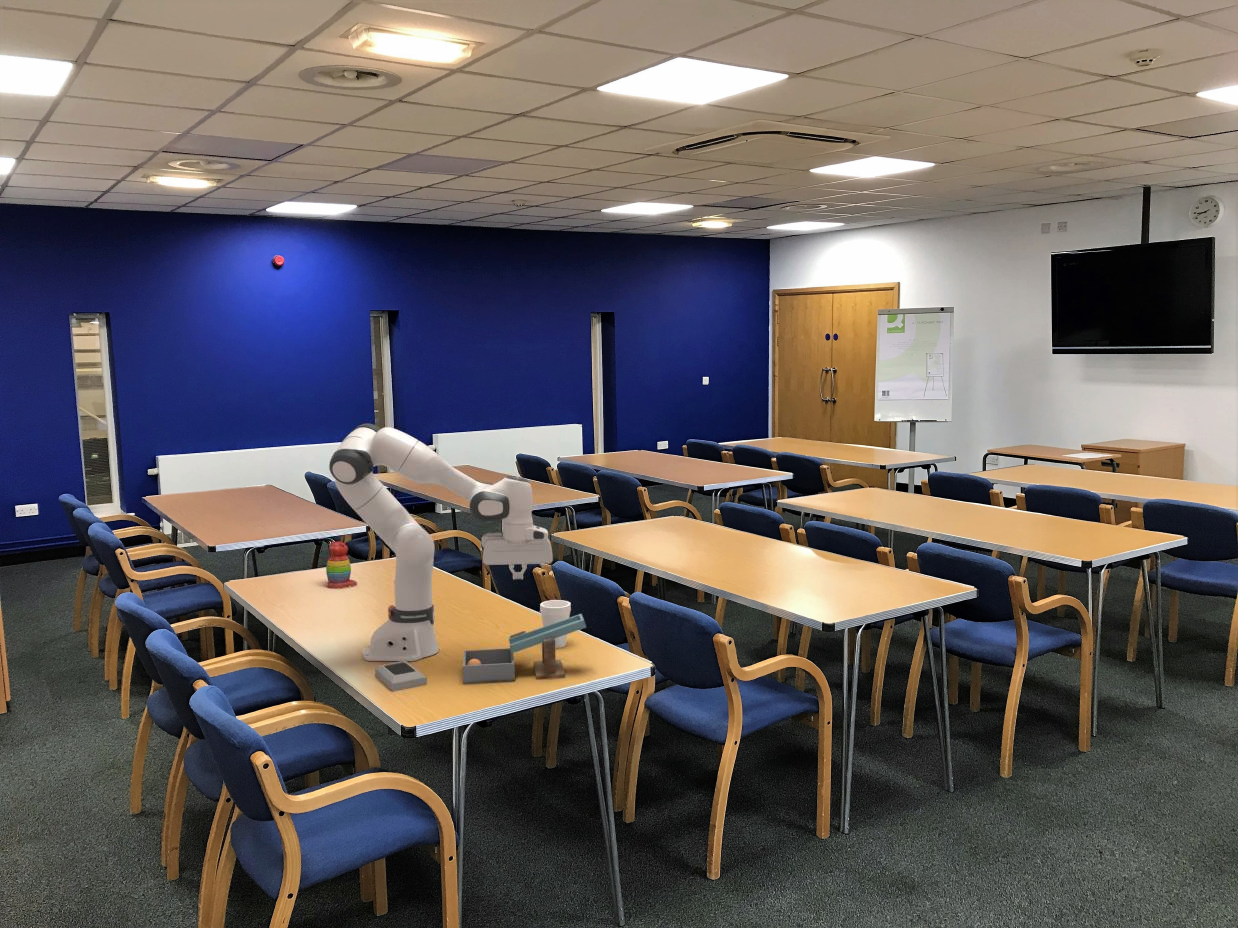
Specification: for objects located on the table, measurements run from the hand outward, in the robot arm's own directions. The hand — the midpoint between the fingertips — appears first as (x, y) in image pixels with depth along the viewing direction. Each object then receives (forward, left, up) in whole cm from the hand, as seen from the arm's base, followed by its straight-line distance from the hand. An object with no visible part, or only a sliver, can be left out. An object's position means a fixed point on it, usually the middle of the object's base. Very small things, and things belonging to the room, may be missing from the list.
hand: (517, 578), depth 271 cm
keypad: (-33, -10, -26) cm, 43 cm away
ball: (-13, -9, -22) cm, 28 cm away
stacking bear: (-66, +105, -25) cm, 126 cm away
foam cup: (+12, +15, -25) cm, 31 cm away
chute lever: (+8, -6, -15) cm, 18 cm away
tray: (-9, -9, -25) cm, 28 cm away
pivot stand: (+8, -9, -25) cm, 28 cm away
